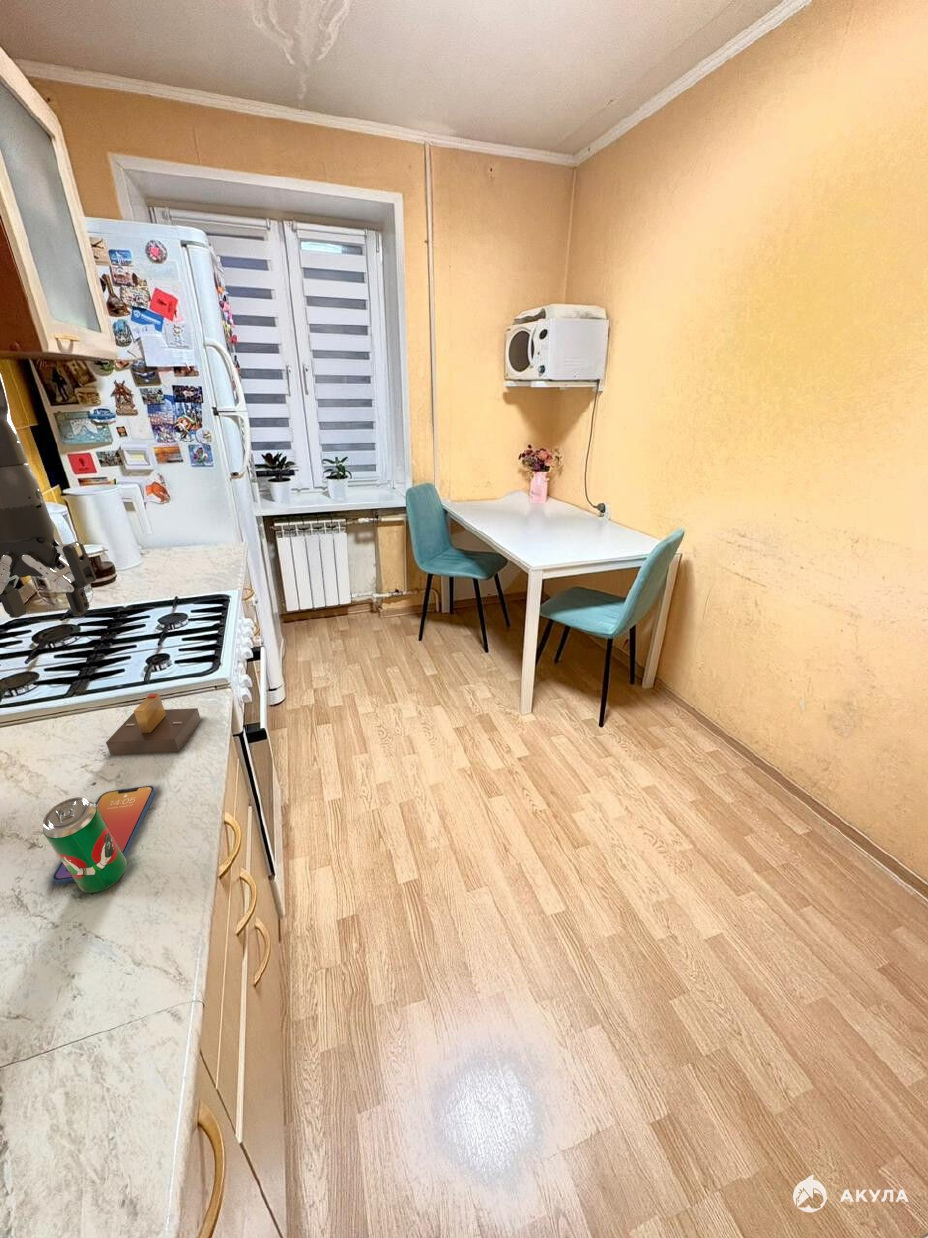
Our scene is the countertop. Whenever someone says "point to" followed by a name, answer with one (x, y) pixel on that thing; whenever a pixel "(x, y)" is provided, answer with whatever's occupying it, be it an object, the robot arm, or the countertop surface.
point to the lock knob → (149, 713)
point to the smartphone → (118, 819)
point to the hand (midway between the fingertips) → (50, 614)
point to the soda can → (84, 844)
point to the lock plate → (155, 734)
